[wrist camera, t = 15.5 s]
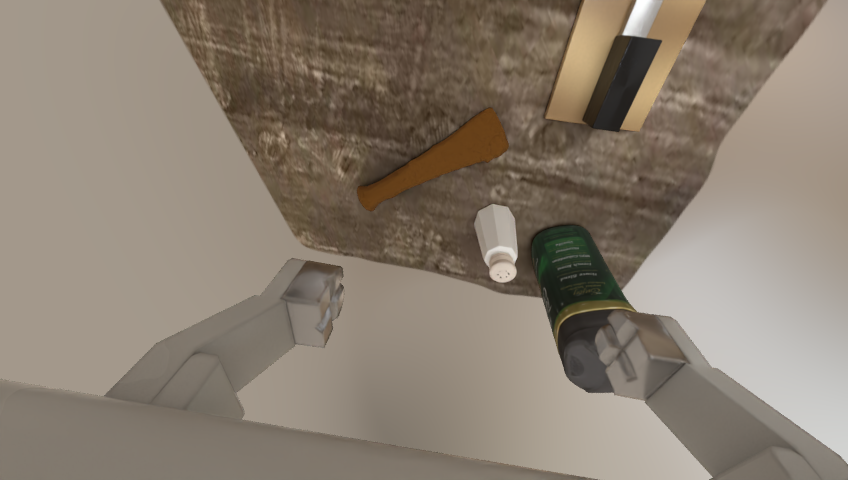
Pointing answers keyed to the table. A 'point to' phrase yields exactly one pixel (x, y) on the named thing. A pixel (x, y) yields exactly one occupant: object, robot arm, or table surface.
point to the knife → (624, 68)
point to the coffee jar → (576, 300)
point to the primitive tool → (442, 158)
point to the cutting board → (592, 45)
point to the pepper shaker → (497, 241)
